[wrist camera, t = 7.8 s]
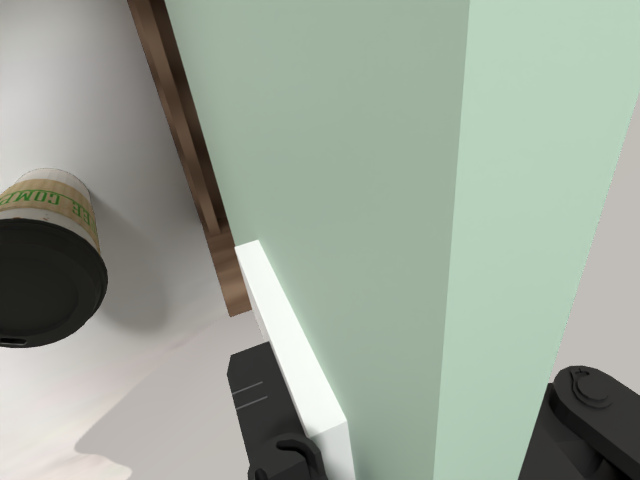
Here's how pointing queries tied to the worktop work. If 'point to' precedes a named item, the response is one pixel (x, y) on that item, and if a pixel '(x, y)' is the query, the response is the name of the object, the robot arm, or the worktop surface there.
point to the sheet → (419, 197)
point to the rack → (190, 145)
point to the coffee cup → (47, 259)
